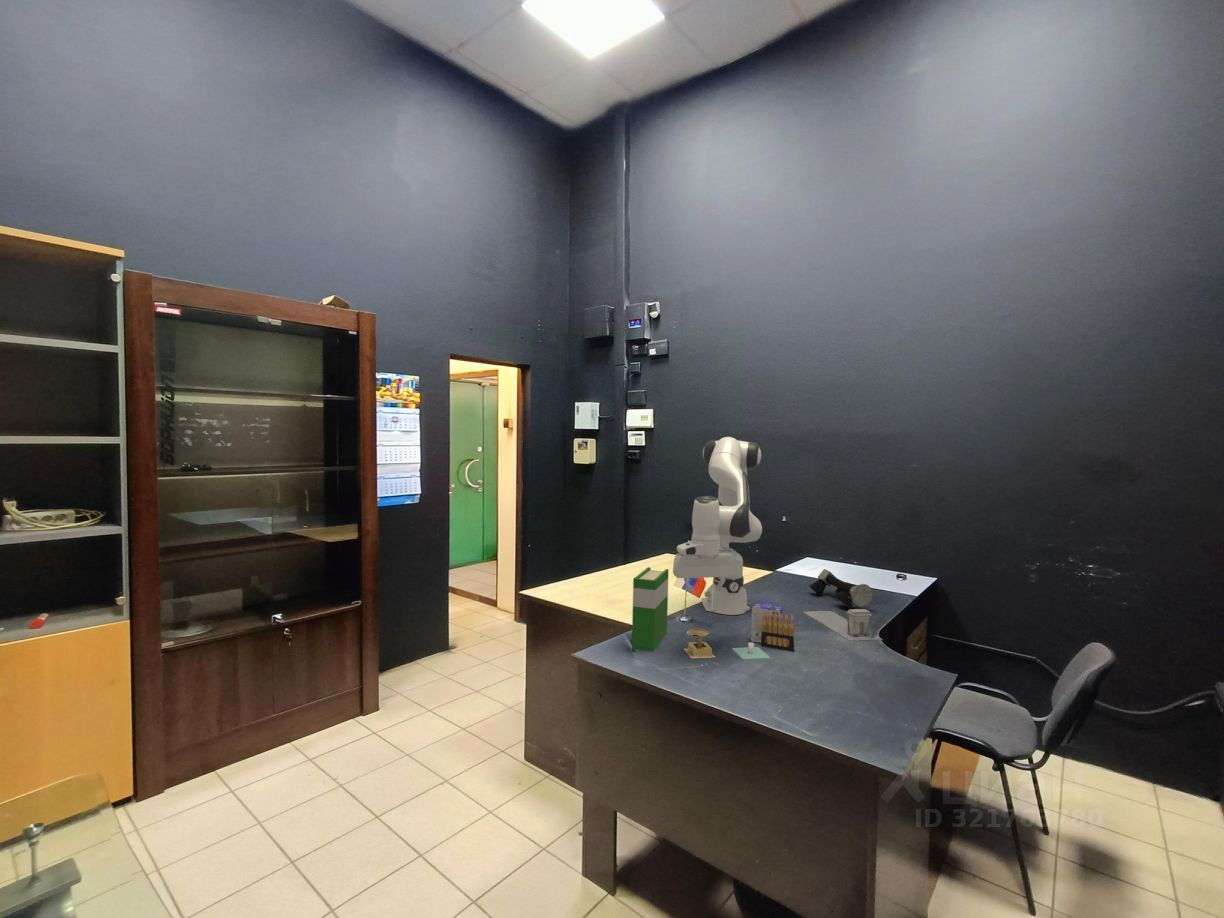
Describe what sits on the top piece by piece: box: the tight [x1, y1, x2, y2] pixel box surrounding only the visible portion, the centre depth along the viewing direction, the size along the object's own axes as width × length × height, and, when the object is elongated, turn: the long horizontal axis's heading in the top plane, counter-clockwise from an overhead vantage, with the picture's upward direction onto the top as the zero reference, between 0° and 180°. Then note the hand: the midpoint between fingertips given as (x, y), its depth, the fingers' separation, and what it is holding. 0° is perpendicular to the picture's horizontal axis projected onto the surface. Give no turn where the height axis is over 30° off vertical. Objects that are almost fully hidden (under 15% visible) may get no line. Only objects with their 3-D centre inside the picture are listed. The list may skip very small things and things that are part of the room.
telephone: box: [809, 568, 874, 610], centre depth 243 cm, size 15×13×30 cm
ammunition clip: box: [760, 611, 795, 653], centre depth 186 cm, size 11×2×12 cm, turn 66°
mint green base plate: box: [731, 641, 771, 662], centre depth 176 cm, size 9×9×5 cm
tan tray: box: [687, 641, 713, 657], centre depth 176 cm, size 6×6×2 cm
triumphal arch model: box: [802, 608, 883, 643], centre depth 211 cm, size 12×33×10 cm, turn 10°
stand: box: [683, 636, 716, 659], centre depth 176 cm, size 8×8×6 cm
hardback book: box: [631, 566, 669, 653], centre depth 187 cm, size 18×7×24 cm, turn 161°
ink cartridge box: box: [750, 598, 784, 644], centre depth 192 cm, size 10×6×14 cm, turn 64°
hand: (704, 591), depth 176 cm, fingers open, 8 cm apart
